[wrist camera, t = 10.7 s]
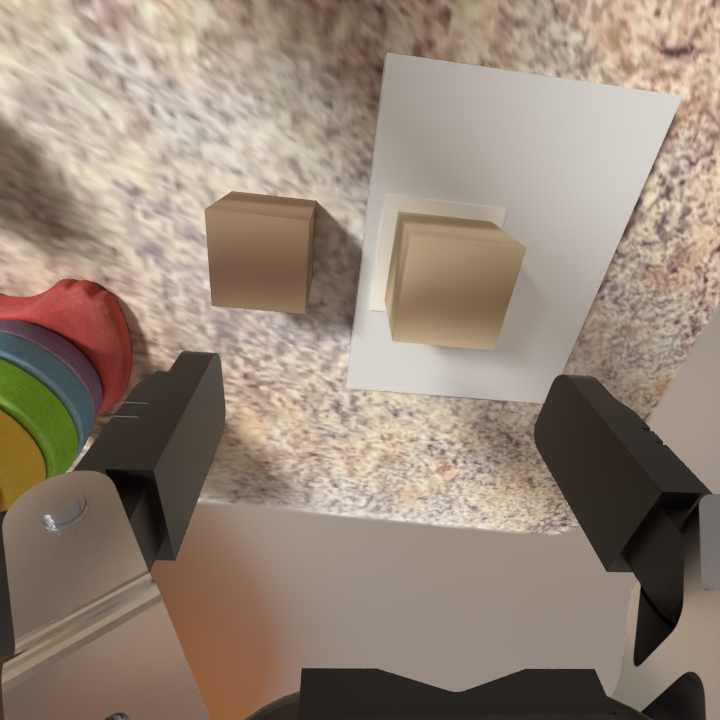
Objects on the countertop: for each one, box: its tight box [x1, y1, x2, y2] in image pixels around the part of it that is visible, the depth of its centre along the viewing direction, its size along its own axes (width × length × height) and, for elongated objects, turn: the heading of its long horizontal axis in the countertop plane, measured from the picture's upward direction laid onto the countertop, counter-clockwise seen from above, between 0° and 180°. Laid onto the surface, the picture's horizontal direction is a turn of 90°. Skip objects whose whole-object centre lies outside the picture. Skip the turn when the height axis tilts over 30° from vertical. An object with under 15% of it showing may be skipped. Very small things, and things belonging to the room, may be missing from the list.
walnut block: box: [205, 191, 316, 314], centre depth 21 cm, size 4×4×5 cm
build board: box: [346, 52, 682, 404], centre depth 24 cm, size 18×14×1 cm
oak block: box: [384, 211, 527, 350], centre depth 21 cm, size 5×5×5 cm
